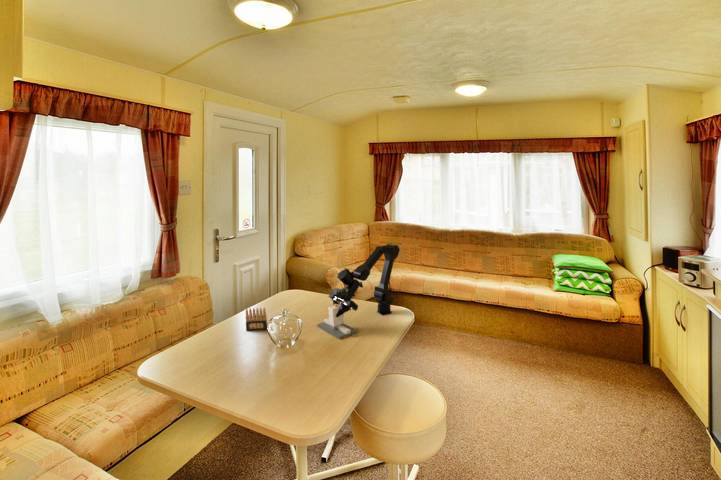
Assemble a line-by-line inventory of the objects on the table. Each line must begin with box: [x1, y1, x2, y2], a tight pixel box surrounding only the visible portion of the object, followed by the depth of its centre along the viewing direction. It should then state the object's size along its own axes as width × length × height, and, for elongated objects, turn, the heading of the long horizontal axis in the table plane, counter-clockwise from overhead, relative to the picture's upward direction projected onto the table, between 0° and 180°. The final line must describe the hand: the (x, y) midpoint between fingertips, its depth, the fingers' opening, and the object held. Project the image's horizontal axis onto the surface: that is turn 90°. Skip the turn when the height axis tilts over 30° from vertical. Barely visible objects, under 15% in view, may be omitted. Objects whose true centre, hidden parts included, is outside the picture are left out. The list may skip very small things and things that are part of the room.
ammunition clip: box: [245, 307, 268, 332], centre depth 175 cm, size 11×2×12 cm, turn 93°
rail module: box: [327, 303, 345, 330], centre depth 173 cm, size 6×4×12 cm, turn 128°
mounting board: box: [316, 317, 358, 340], centre depth 174 cm, size 20×11×3 cm, turn 39°
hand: (333, 315), depth 172 cm, fingers closed on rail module, 4 cm apart
